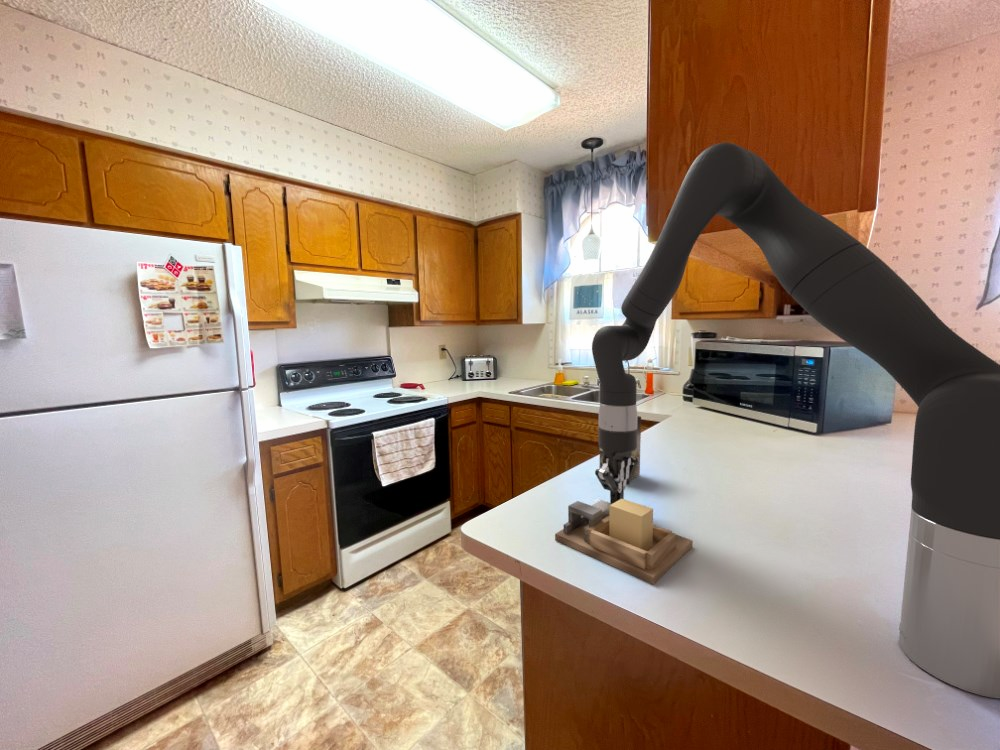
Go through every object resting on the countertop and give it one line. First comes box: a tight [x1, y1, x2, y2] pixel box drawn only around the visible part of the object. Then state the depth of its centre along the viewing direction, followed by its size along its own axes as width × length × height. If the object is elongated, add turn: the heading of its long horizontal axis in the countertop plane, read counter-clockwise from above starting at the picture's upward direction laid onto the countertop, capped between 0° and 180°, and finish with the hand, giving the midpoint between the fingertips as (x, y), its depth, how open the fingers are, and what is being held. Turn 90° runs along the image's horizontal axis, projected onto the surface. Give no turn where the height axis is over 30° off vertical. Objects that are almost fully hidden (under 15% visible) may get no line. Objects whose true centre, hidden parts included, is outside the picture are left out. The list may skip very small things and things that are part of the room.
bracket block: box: [609, 499, 654, 551], centre depth 70 cm, size 6×4×7 cm, turn 43°
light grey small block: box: [587, 499, 612, 523], centre depth 80 cm, size 3×5×3 cm, turn 134°
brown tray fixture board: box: [554, 500, 694, 585], centre depth 73 cm, size 19×15×6 cm
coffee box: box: [598, 415, 642, 479], centre depth 106 cm, size 9×6×16 cm
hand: (616, 507), depth 84 cm, fingers closed
